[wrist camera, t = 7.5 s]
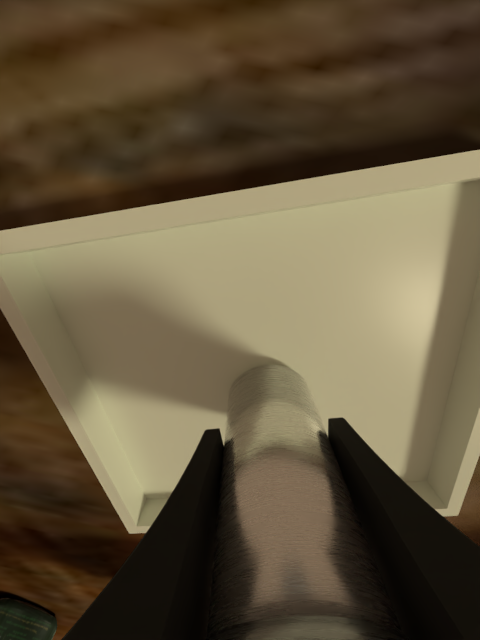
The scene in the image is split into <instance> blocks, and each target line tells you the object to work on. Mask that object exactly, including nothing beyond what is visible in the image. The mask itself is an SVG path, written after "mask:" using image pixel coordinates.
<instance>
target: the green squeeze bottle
mask: <svg viewBox="0 0 480 640" xmlns="http://www.w3.org/2000/svg"><path fill="white" fill-rule="evenodd" d="M56 629H57V620H56V618H55V617H54V616H53V615H50V614H49V613H48V612H47V611H45V610H43V609H41V608H39V607H36V606H34V605H32V604H30V603H27V602H23V601H21V600H16V599H11V598H1V599H0V640H52V638H53V636H54V634H55V632H56Z"/></svg>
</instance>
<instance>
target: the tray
mask: <svg viewBox="0 0 480 640" xmlns="http://www.w3.org/2000/svg"><path fill="white" fill-rule="evenodd" d="M0 309H1V310H2V312H3V314H4V316H5V317H6V319H7V321H8V323H9V324H10V326H11V328H12V330H13V331H14V333H15V335H16V337H17V338H18V340H19V342H20V344H21V345H22V347H23V349H24V351H25V352H26V354H27V356H28V358H29V359H30V361H31V363H32V365H33V366H34V368H35V370H36V372H37V373H38V375H39V377H40V379H41V380H42V382H43V384H44V386H45V387H46V389H47V391H48V393H49V394H50V396H51V398H52V399H53V401H54V403H55V405H56V406H57V408H58V410H59V412H60V413H61V415H62V417H63V419H64V420H65V422H66V424H67V426H68V427H69V429H70V431H71V433H72V434H73V436H74V438H75V440H76V441H77V443H78V445H79V447H80V448H81V450H82V452H83V454H84V455H85V457H86V459H87V461H88V462H89V464H90V466H91V468H92V469H93V471H94V473H95V475H96V476H97V478H98V480H99V482H100V483H101V485H102V487H103V489H104V490H105V492H106V494H107V496H108V497H109V499H110V501H111V503H112V504H113V506H114V508H115V510H116V511H117V513H118V515H119V516H120V518H121V520H122V522H123V523H124V525H125V527H126V529H127V530H128V532H129V534H132V533H146V532H147V531H148V529H149V528H150V526H151V525H152V524H153V522H154V521H155V519H156V518H157V516H158V514H159V513H160V511H161V510H162V508H163V507H164V505H165V503H166V502H167V500H168V498H169V497H170V495H171V493H172V492H173V490H174V489H175V487H176V485H177V483H178V482H179V480H180V478H181V476H182V475H183V473H184V471H185V469H186V467H187V465H188V464H189V462H190V460H191V458H192V456H193V454H194V452H195V450H196V448H197V446H198V444H199V442H200V440H201V438H202V435H203V433H204V431H205V430H206V429H217V428H220V433H221V437H222V441H223V445H224V439H225V428H226V417H227V405H228V395H229V390H230V387H231V385H232V383H233V382H234V381H235V379H236V378H237V377H238V376H239V375H241V374H242V373H243V372H245V371H247V370H249V369H251V368H254V367H257V366H262V365H279V366H284V367H287V368H290V369H292V370H294V371H296V372H297V373H299V374H300V375H301V376H302V377H303V378H304V379H305V381H306V382H307V384H308V386H309V389H310V391H311V394H312V397H313V399H314V402H315V404H316V407H317V410H318V412H319V415H320V417H321V420H322V423H323V425H324V428H325V431H326V433H327V436H328V419H329V418H340V417H343V418H344V419H346V421H347V422H348V423H349V424H350V425H351V426H352V428H353V429H354V430H355V431H356V432H357V433H358V434H359V436H360V437H361V438H362V439H363V440H364V441H365V442H366V443H367V444H368V445H369V446H370V448H371V449H372V450H373V451H374V452H375V453H376V454H377V455H378V456H379V457H380V458H381V459H382V460H383V461H384V462H385V463H386V464H387V465H388V466H389V467H390V468H391V469H392V470H393V471H394V472H395V473H396V474H397V475H398V476H399V477H400V478H401V479H402V480H403V481H404V482H405V483H406V484H407V485H408V486H410V487H411V488H412V489H413V490H414V491H415V492H416V493H417V494H418V495H419V496H420V497H421V498H423V499H424V500H425V501H426V502H427V503H428V504H429V505H430V506H431V507H433V508H434V509H435V510H436V511H437V512H438V513H439V514H441V515H442V516H458V514H459V511H460V508H461V505H462V503H463V500H464V497H465V494H466V492H467V489H468V486H469V483H470V480H471V478H472V475H473V472H474V469H475V466H476V464H477V461H478V458H479V455H480V150H474V151H468V152H463V153H457V154H451V155H445V156H439V157H433V158H427V159H421V160H415V161H409V162H404V163H398V164H392V165H386V166H380V167H374V168H368V169H362V170H356V171H350V172H344V173H339V174H333V175H327V176H321V177H315V178H309V179H303V180H297V181H291V182H285V183H280V184H274V185H268V186H262V187H256V188H250V189H244V190H238V191H232V192H226V193H220V194H215V195H209V196H203V197H197V198H191V199H185V200H179V201H173V202H167V203H161V204H156V205H150V206H144V207H138V208H132V209H126V210H120V211H114V212H108V213H102V214H96V215H91V216H85V217H79V218H73V219H67V220H61V221H55V222H49V223H43V224H37V225H32V226H26V227H20V228H14V229H8V230H2V231H0Z"/></svg>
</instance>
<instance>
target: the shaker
mask: <svg viewBox="0 0 480 640" xmlns="http://www.w3.org/2000/svg"><path fill="white" fill-rule="evenodd" d="M206 640H409V638H408V637H406V636H405V635H404V634H403V632H402V629H401V627H400V624H399V622H398V619H397V616H396V614H395V611H394V609H393V606H392V603H391V601H390V598H389V595H388V593H387V590H386V588H385V585H384V582H383V580H382V577H381V574H380V572H379V569H378V567H377V564H376V561H375V559H374V556H373V554H372V551H371V548H370V546H369V543H368V540H367V538H366V535H365V533H364V530H363V527H362V525H361V522H360V520H359V517H358V514H357V512H356V509H355V506H354V504H353V501H352V499H351V496H350V493H349V491H348V488H347V485H346V483H345V480H344V478H343V475H342V472H341V470H340V467H339V465H338V462H337V459H336V457H335V454H334V451H333V449H332V446H331V444H330V441H329V438H328V436H327V433H326V431H325V428H324V425H323V423H322V420H321V417H320V415H319V412H318V410H317V407H316V404H315V402H314V399H313V397H312V394H311V391H310V389H309V386H308V384H307V382H306V381H305V379H304V378H303V377H302V376H301V375H300V374H299V373H297V372H296V371H294V370H292V369H290V368H287V367H284V366H279V365H262V366H257V367H254V368H251V369H249V370H247V371H245V372H243V373H242V374H241V375H239V376H238V377H237V378H236V379H235V381H234V382H233V383H232V385H231V387H230V390H229V395H228V405H227V417H226V428H225V439H224V450H223V461H222V473H221V484H220V495H219V506H218V517H217V528H216V540H215V551H214V562H213V573H212V584H211V596H210V607H209V618H208V629H207V639H206Z"/></svg>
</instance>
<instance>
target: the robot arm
mask: <svg viewBox="0 0 480 640" xmlns="http://www.w3.org/2000/svg"><path fill="white" fill-rule="evenodd" d="M328 438H329V441H330V444H331V446H332V449H333V451H334V454H335V457H336V459H337V462H338V465H339V467H340V470H341V472H342V475H343V478H344V480H345V483H346V485H347V488H348V491H349V493H350V496H351V499H352V501H353V504H354V506H355V509H356V512H357V514H358V517H359V520H360V522H361V525H362V527H363V530H364V533H365V535H366V538H367V540H368V543H369V546H370V548H371V551H372V554H373V556H374V559H375V561H376V564H377V567H378V569H379V572H380V574H381V577H382V580H383V582H384V585H385V588H386V590H387V593H388V595H389V598H390V601H391V603H392V606H393V609H394V611H395V614H396V616H397V619H398V622H399V624H400V627H401V629H402V632H403V634H404V635H405V636H406V637H408V638H409V640H480V547H479V546H478V545H477V544H475V543H474V542H473V541H472V540H470V539H469V538H468V537H467V536H466V535H464V534H463V533H462V532H461V531H460V530H458V529H457V528H456V527H455V526H454V525H452V524H451V523H450V522H449V521H448V520H446V519H445V518H444V517H443V516H442V515H441V514H439V513H438V512H437V511H436V510H435V509H434V508H433V507H431V506H430V505H429V504H428V503H427V502H426V501H425V500H424V499H423V498H421V497H420V496H419V495H418V494H417V493H416V492H415V491H414V490H413V489H412V488H411V487H410V486H408V485H407V484H406V483H405V482H404V481H403V480H402V479H401V478H400V477H399V476H398V475H397V474H396V473H395V472H394V471H393V470H392V469H391V468H390V467H389V466H388V465H387V464H386V463H385V462H384V461H383V460H382V459H381V458H380V457H379V456H378V455H377V454H376V453H375V452H374V451H373V450H372V449H371V448H370V446H369V445H368V444H367V443H366V442H365V441H364V440H363V439H362V438H361V437H360V436H359V434H358V433H357V432H356V431H355V430H354V429H353V428H352V426H351V425H350V424H349V423H348V422H347V421H346V419H344V418H343V417H340V418H329V419H328ZM223 450H224V445H223V441H222V437H221V433H220V428H217V429H206V430H205V431H204V433H203V435H202V438H201V440H200V442H199V444H198V446H197V448H196V450H195V452H194V454H193V456H192V458H191V460H190V462H189V464H188V465H187V467H186V469H185V471H184V473H183V475H182V476H181V478H180V480H179V482H178V483H177V485H176V487H175V489H174V490H173V492H172V493H171V495H170V497H169V498H168V500H167V502H166V503H165V505H164V507H163V508H162V510H161V511H160V513H159V514H158V516H157V518H156V519H155V521H154V522H153V524H152V525H151V526H150V528H149V529H148V531H147V532H146V534H145V535H144V537H143V538H142V539H141V541H140V542H139V544H138V545H137V546H136V548H135V549H134V550H133V552H132V553H131V555H130V556H129V557H128V559H127V560H126V561H125V563H124V564H123V565H122V567H121V568H120V569H119V571H118V572H117V573H116V574H115V576H114V577H113V578H112V580H111V581H110V582H109V583H108V584H107V586H106V587H105V588H104V589H103V591H102V592H101V593H100V594H99V596H98V597H97V598H96V599H95V600H94V602H93V603H92V604H91V605H90V607H89V608H88V609H87V610H86V611H85V613H84V614H83V615H82V616H81V618H80V619H79V620H78V621H77V622H76V623H75V625H74V626H73V627H72V628H71V629H70V630H69V632H68V633H67V634H66V635H65V636H64V637H63V638H62V640H206V639H207V629H208V618H209V607H210V596H211V584H212V573H213V562H214V551H215V540H216V528H217V517H218V506H219V495H220V484H221V473H222V461H223Z"/></svg>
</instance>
